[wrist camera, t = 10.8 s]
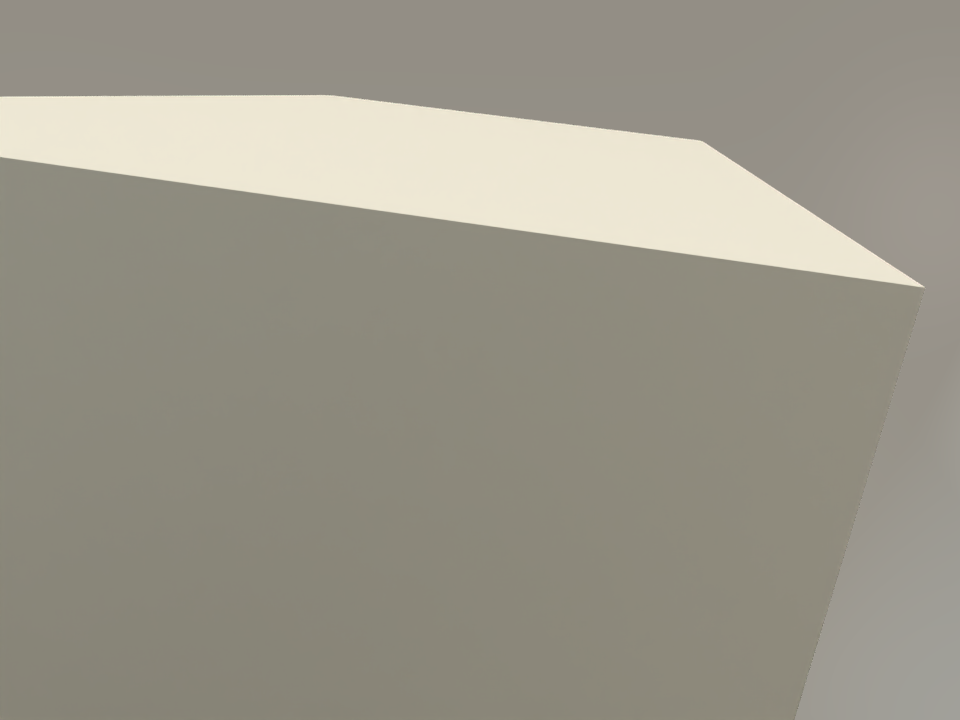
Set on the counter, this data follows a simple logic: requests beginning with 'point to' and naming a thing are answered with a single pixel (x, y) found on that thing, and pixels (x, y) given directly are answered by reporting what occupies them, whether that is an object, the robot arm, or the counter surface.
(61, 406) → the carton
